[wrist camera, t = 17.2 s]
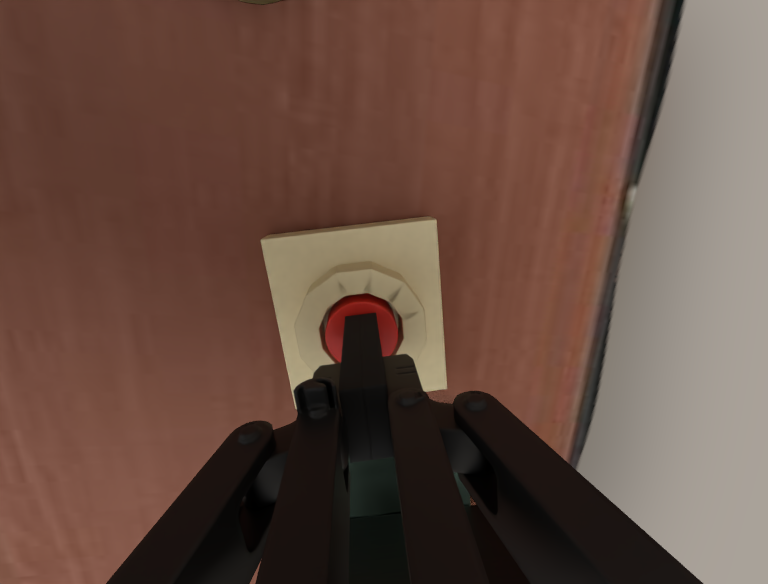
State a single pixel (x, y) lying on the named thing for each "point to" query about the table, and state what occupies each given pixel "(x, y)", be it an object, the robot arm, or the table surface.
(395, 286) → the button box
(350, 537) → the black panel
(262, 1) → the olive pawn
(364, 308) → the red push button
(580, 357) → the table surface
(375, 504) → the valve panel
